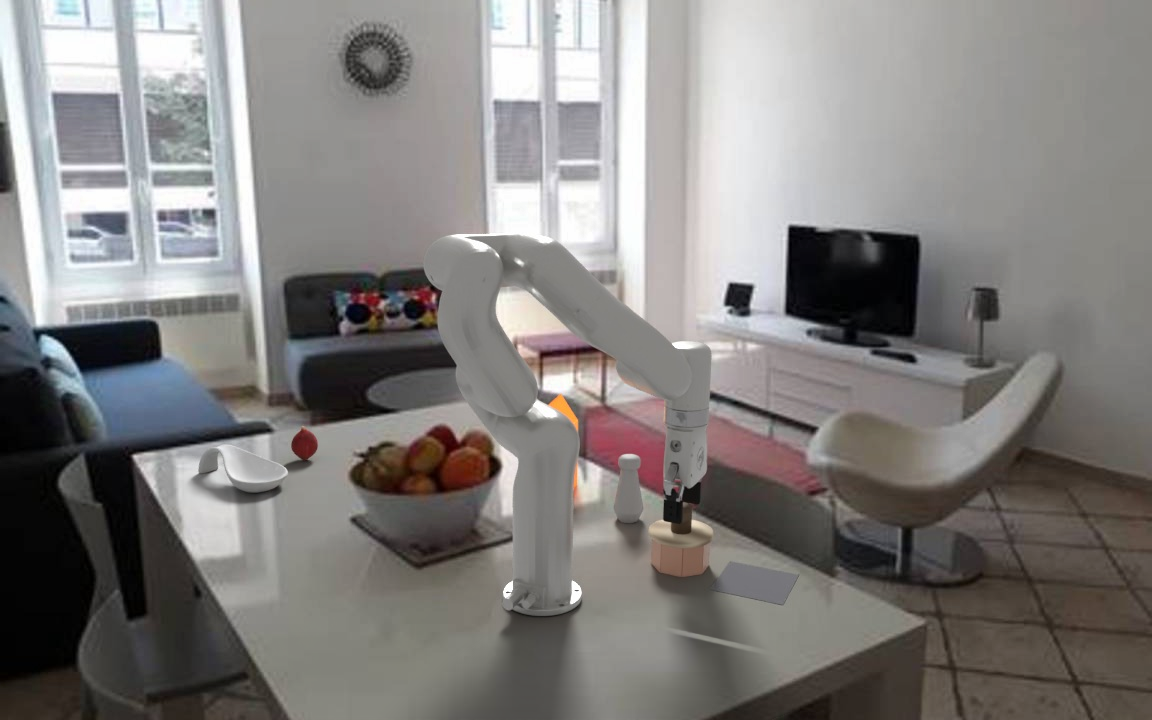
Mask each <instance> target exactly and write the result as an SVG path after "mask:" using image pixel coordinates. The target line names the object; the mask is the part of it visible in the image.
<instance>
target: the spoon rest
mask: <svg viewBox="0 0 1152 720" xmlns="http://www.w3.org/2000/svg"><path fill="white" fill-rule="evenodd" d="M219 453H220V456H221V458H222V461H223V462H222V463H223V467H224V471H225V473H226V476H227V477H228V479H229V481H230V482H231V484H232V485H233V486H234V487H235V488H237V489H239V490H240V491H243V492H245V493H248V494H249V493H250V494H251V493H254V494H255V493H256V494H257V493H263V492H268V491H271V490H273V489H275V488H277V487H278V486H279V485H281V484H282V483H283V482H284V481H285V479H286V478H287V476H288V474H289V472H288V469H287V468H286V467H284V465H283V464H281V463H278V462H276V461H272V460H270V459H269V458H265V457H263V456H260V455H258V454H256V453H253V452H250V451H248V450H245V449H243V448H241V447H238V446H235V445H232V444H225V443H224V444H220V445H218V446H215V447H210V448H207V449H206V450H205V451H204V452H203V454H202V455H201V458H200V459H199V464H198V468H197V469H198V471H197V472H198V473H199V474H206V473H210V472H212V471H216V470H218V469H219V461H218V460H219V458H218V456H219Z"/></svg>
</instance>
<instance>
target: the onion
mask: <svg viewBox="0 0 1152 720" xmlns="http://www.w3.org/2000/svg"><path fill="white" fill-rule="evenodd" d="M318 443H319V442H318V439H317V437H316V436H315V434H314V433H313V432H311V431H310V430H308V429H307V428H306V426H304V425H302V426H301V429H300V431H299V432H297V433H296V434H294V436H293V438H292V440H291V444H290V445H291V451H292V452H293V454H294V455H295V456H297V457H298V458H299V459H301V460H302V461H308V459H310V458H311V457H312V456H314V455H315V454H316V453H317V451H318V448H319V447H318V446H319V444H318Z"/></svg>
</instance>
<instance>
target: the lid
mask: <svg viewBox="0 0 1152 720" xmlns="http://www.w3.org/2000/svg"><path fill="white" fill-rule="evenodd" d="M648 536H649V538H650V539H651V540H652V539H653V540H654V541H655V542H657V543H660V544H662V545H666V546H670V547H676V548H695V547H700V546H704V545H706V544H708V543H710V544H711V542H712V541H713V539H714V530H713V528H712V527H711V526H710V525H708V524H706V523H704V522H702V521H700V520H697V519H693V505H692V504H691V503H686V502H683V517H682V523H681V524H676V523H671V522H665V521H664V520H663V519H659V520H656V521H654V522H653V523H651V524H650V525H649V527H648Z"/></svg>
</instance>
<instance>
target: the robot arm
mask: <svg viewBox="0 0 1152 720" xmlns="http://www.w3.org/2000/svg"><path fill="white" fill-rule="evenodd" d="M422 264H423V270H424V271H423V272H424V274H425V276H426V277H427V279H428V281H429V282H430V283H431V285H433V287H435V288H436V289H438V290H440V291H441V295H440V297H439V303H438V311H437V329H438V334H439V336H440V339H441V342H442V344H443V346H444V347H445V350H446V351H447V352H448V354H449V356H451V358H452V360H453V361H454V363H455V365H456V367H455V381H456V385H457V388H458V390H459V392H460V394H461V395H462V397H463V398H464V400H465V401H466V403H467V404H468V406H469V407H470V409H472V411H473V412H474V414H475V415H476V416H477V417H478V418H477V419H479V421H481V423H482V424H483V426H484V427H485V428H486V430H487V431H488V432H489V434H490V435H491V436H492V438H493V439H494V440H495V442H497V443H498V444H499V445H500V446H501V447H503V449H505V450H507V451H508V452H509V453H511V454H512V455H513V456H514V457H515V458H517V462H518V464H517V470H516V474H515V477H514V481H513V486H512V506H511V507H512V581H511V582H509V583H508V584H506V585H505V586H504V589H503V590H502V591H503V592H502V601H501V603H502V604H501V605H502V607H503V608H504V609H505V610H506V611H511V610H513V611H515V612H517V613H519V614H522V615H523V614H524V615H527V616H533V617H550V616H552V617H553V616H557V615H561V614H565V613H567V612H570V611H573V610H574V609H576V607H577V606H579V605H580V603H581V602H582V597H583V592H582V589H581V587H580V585H578V583H576V582H575V581H573V562H574V561H573V556H574V555H573V553H574V545H573V544H574V490H575V488H574V477H575V470H576V465H577V466H578V464H577V460H578V461H579V454H580V446H581V445H580V444H581V441H580V436H579V435H580V434H579V430H578V431H577V429H576V427H575V425H574V424H573V422H572V421H571V420H570V419H569V418H568V417H567V416H566V415H565V414H563V413H562V412H560V411H558V410H557V409H555V408H553V407H551V406H549V404H548V403H545V402H543V401H541V400H539V399H538V394H539V392H538V391H539V387H538V382H537V378H536V376H535V373H534V372H533V370H532V368H531V367H530V365H529V364H528V363H527V361H525V359H524V358H523V356H522V354H520V352H519V351H518V350H517V348H516V347H515V345H514V344H513V342H512V341H511V339H510V338H509V337H508V334H506V332H505V330H504V328H503V327H502V324H501V322H500V321H499V319H498V316H497V311H496V309H497V300H498V296H499V293H500V291H501V289H502V288H509V287H516V288H519V289H523V290H525V291H527V292H528V293H529V294H530V295H531V296H532V297H534V299H535V300H537V302H538V303H539V304H541V305H542V306H543V307H544V308H545V309H546V310H548V311H549V312H550V313H551V314H552V315H553V316H554V317H555V318H556V319H557V320H559V321H560V323H561V324H563V326H565V327H566V328H567V330H568V331H569V332H570V333H571V334H573V335H574V336H576V337H577V338H578V339H580V340H582V341H583V342H584V343H585V344H588V345H589V346H591V347H593V348H595V349H597V350H599V351H601V352H602V353H605V354H606V355H608V356H610V357H612V358H613V359H614V360H616V362H615V369H616V373H617V375H618V377H619V378H620V379H621V381H623V382H624V383H625V384H626V385H627V386H629V387H631V388H634V389H636V390H638V391H641V392H644V393H646V394H648V395H650V396H653V397H655V398H657V399H660V400H663V423H662V424H663V426H665V427H666V435H665V444H664V455H663V470H662V471H663V473H662V475H663V483H662V484H663V490H662V492H663V506H662V507H663V510H662V511H663V512H662V520H664V521H665V522H671V523H676V524H681V523H682V517H683V502H686V503H689V504H691V505H692V504H693V505H700V503H701V496H702V493H701V492H702V480H703V477H704V476H705V475H706V473H707V470H708V434H707V433H708V432H707V428H708V427H709V420H710V398H711V397H710V396H711V395H710V392H711V378H712V376H711V375H712V355H713V354H712V350H711V348H710V346H709V345H708V344H705V343H702V342H699V341H691V340H683V341H681V340H680V341H676V342H671V341H670V340H669V338H667V337H666V336H664V334H663V333H661V332H660V331H659V330H658V329H657V328H655V327H654V325H652V324H651V323H649V322H648V321H647V320H646V319H644V318H643V317H641V316H640V315H639V314H637V312H635V311H634V310H632V309H631V308H630V306H628V305H627V304H625V303H624V302H623V301H621V300H620V299H619V298H617V297H616V296H615V295H614V294H612V293H611V291H609V290H608V289H607V288H606V287H605V286H604V285H603V284H602V283H601V282H600V281H599V280H598V279H597V278H596V277H595V276H594V275H593V273H591V272H590V271H589V269H587V268H586V266H584V265H583V264H582V263H581V261H579V260H578V258H576V257H575V256H574V255H573V254H572V253H571V251H569V250H568V249H567V248H565V246H564V245H563V244H561V243H560V242H559V241H557V240H555V239H554V238H551V237H548V236H544V235H539V234H534V233H528V232H507V233H489V234H488V233H486V234H485V233H484V234H483V233H482V234H481V233H479V234H450V235H445V236H443V237H440V238H438V239H436V240H435V241H433V243H431V244H430V245H429V247H428V248H427V249H426V252H425V253H424V258H423V263H422ZM676 488H677V489H678V490H676Z"/></svg>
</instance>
